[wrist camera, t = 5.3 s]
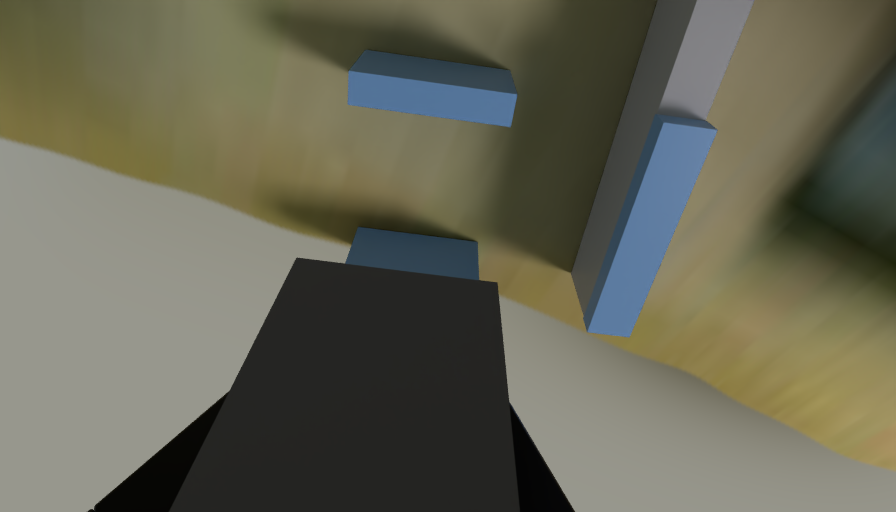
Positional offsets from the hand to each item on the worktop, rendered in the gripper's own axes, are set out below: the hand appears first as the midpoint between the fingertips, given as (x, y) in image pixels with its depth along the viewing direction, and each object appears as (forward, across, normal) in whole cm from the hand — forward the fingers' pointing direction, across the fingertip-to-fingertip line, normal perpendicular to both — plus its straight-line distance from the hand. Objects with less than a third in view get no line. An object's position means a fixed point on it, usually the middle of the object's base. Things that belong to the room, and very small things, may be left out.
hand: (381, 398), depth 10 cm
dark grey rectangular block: (+2, 0, 0) cm, 2 cm away
